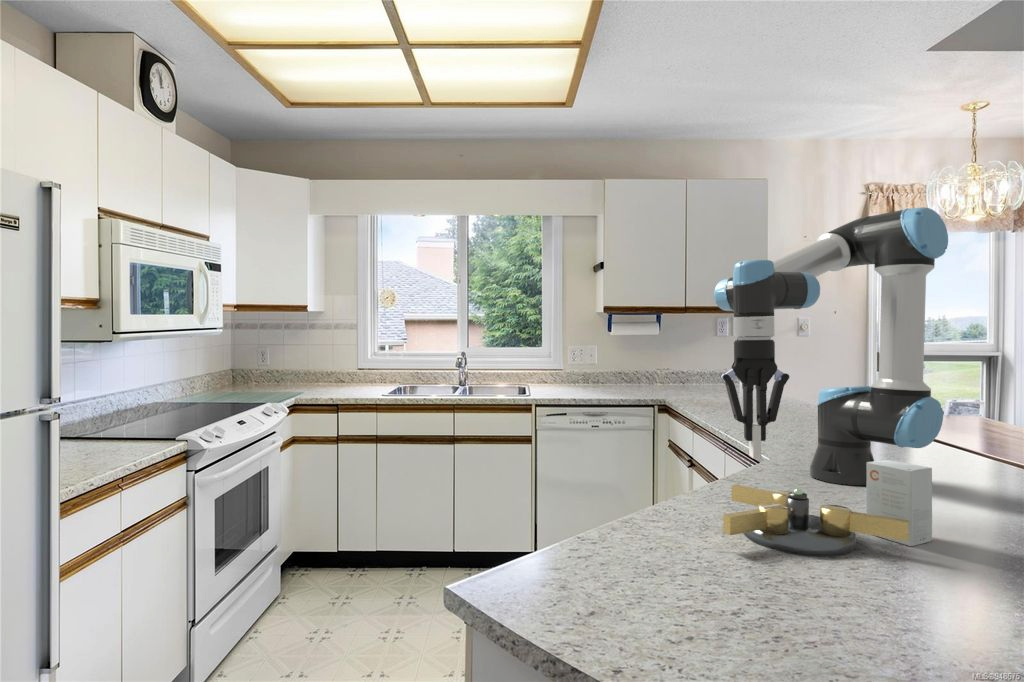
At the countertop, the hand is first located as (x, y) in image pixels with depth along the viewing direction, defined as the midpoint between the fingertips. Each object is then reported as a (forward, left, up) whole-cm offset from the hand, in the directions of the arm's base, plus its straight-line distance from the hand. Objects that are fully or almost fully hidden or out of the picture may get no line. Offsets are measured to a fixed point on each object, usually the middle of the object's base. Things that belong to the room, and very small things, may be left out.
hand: (755, 457), depth 120 cm
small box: (+11, +22, -12) cm, 27 cm away
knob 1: (+4, +1, -10) cm, 10 cm away
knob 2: (+18, -5, -10) cm, 21 cm away
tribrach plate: (+13, +4, -12) cm, 18 cm away
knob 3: (+18, +12, -10) cm, 24 cm away
